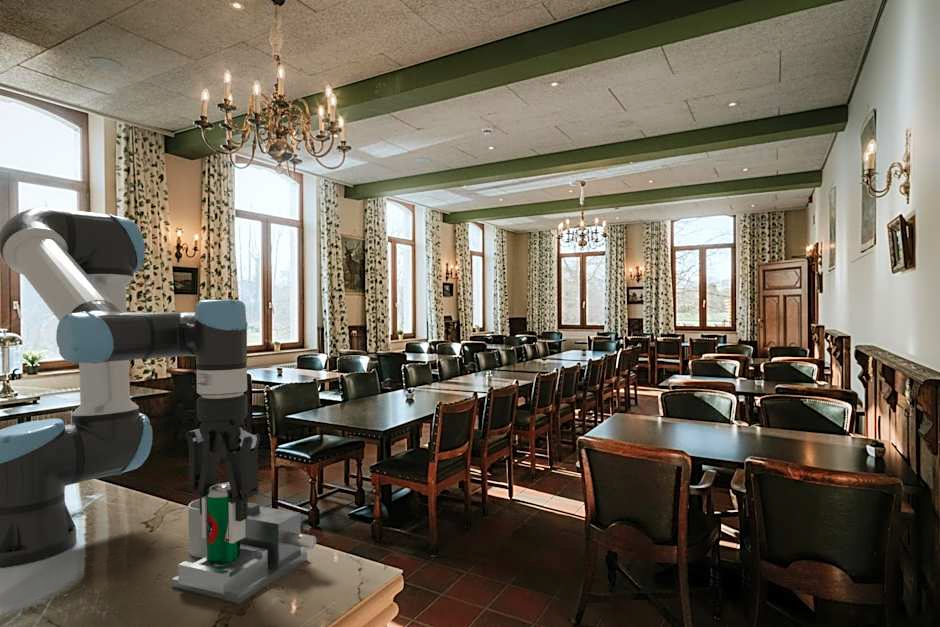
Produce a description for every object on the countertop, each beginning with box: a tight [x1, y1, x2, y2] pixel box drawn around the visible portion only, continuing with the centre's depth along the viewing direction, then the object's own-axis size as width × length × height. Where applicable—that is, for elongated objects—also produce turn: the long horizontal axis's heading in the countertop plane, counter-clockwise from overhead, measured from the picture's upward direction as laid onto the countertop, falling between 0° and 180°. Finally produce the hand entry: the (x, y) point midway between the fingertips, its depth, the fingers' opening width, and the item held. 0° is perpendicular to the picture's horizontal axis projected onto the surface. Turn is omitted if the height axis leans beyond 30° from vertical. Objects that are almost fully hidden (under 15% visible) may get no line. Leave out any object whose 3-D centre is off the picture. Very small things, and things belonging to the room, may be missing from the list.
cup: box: [187, 498, 206, 558], centre depth 104 cm, size 7×10×9 cm
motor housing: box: [171, 502, 317, 604], centre depth 93 cm, size 18×17×10 cm
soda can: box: [206, 482, 240, 566], centre depth 90 cm, size 5×5×12 cm
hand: (223, 537), depth 90 cm, fingers closed on soda can, 5 cm apart
